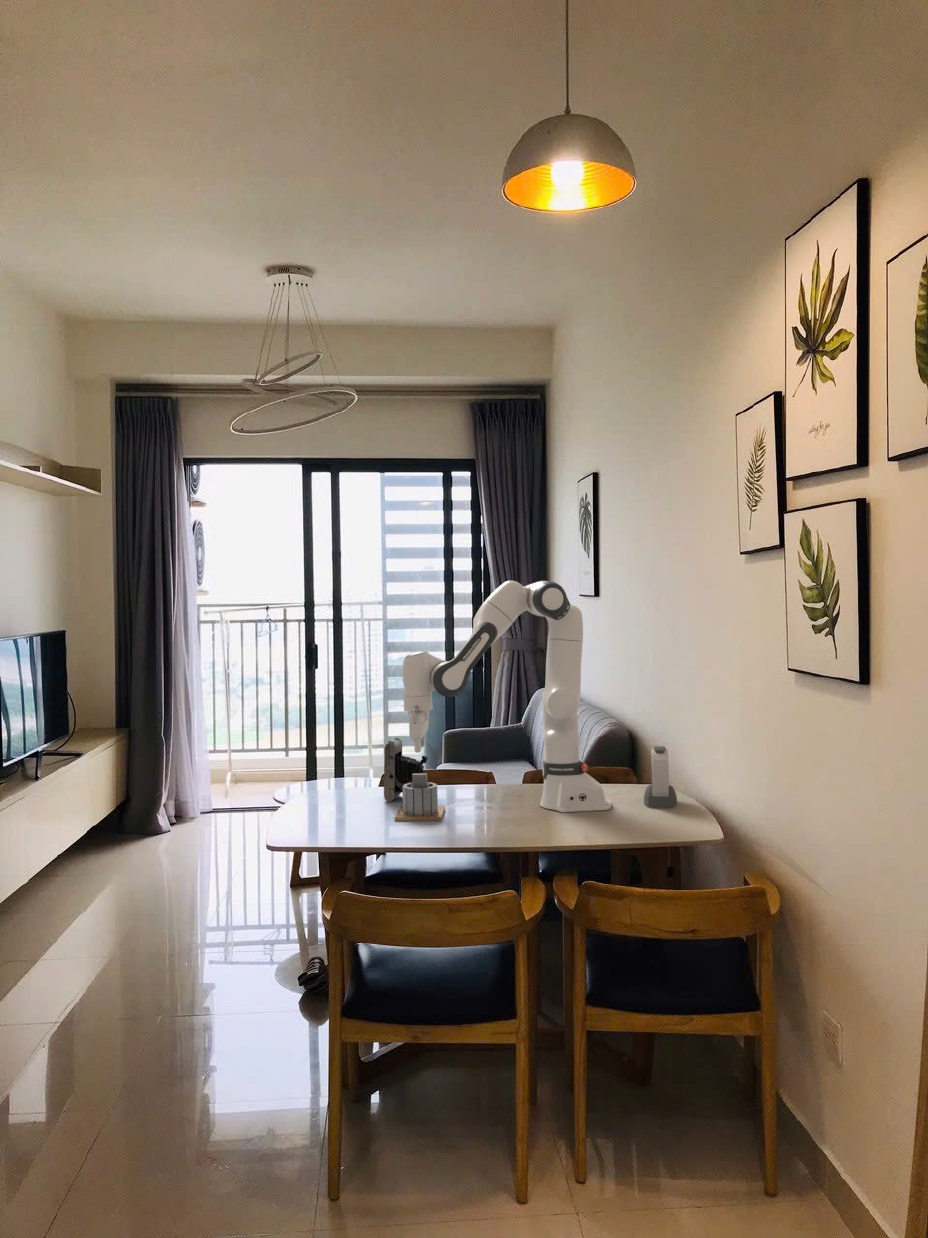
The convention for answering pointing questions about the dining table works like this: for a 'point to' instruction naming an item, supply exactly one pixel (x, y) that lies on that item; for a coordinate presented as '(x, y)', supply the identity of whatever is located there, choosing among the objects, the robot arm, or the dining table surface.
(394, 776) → the vintage camera
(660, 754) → the grey piece
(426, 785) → the rotary knob
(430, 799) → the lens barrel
